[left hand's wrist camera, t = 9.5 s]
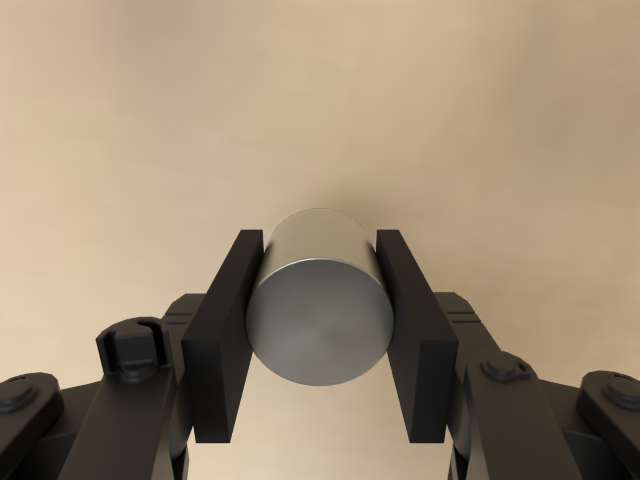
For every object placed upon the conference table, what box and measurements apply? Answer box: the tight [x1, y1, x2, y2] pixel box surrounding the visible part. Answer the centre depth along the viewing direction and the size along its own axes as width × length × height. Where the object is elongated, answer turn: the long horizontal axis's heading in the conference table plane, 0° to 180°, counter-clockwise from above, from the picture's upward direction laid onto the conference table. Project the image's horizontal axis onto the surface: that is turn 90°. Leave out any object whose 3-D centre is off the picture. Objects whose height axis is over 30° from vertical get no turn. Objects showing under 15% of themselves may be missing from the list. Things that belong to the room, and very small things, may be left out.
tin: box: [245, 208, 395, 386], centre depth 13 cm, size 4×4×4 cm
